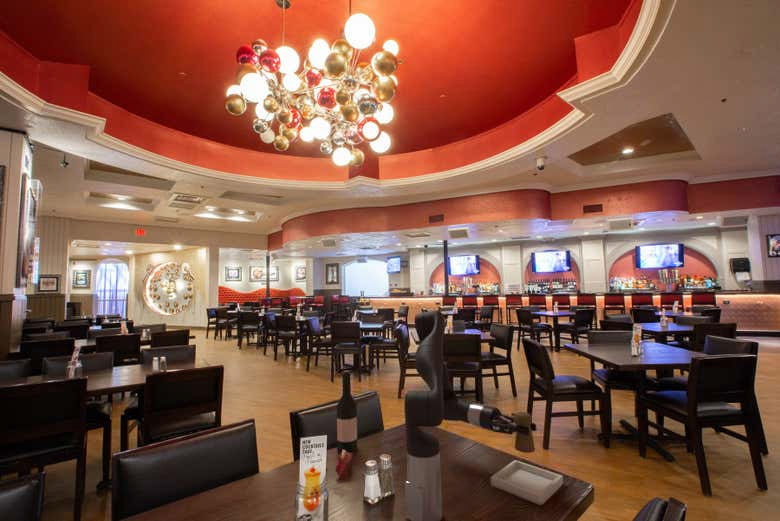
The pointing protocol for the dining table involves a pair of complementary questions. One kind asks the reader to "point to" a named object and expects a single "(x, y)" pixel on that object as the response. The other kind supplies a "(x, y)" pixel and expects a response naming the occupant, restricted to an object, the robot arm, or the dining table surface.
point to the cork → (523, 441)
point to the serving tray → (527, 482)
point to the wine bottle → (346, 418)
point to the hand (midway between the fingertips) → (532, 429)
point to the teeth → (343, 464)
